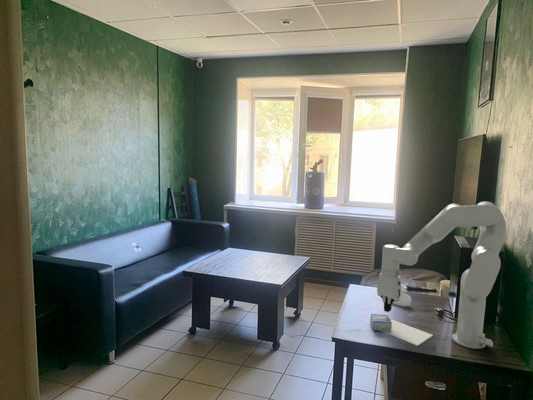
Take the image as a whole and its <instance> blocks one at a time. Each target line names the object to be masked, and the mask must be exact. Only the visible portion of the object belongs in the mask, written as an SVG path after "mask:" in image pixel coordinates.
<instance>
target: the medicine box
mask: <svg viewBox="0 0 533 400" xmlns="http://www.w3.org/2000/svg"><path fill="white" fill-rule="evenodd" d="M391 320H392V319H391V318H390V317H389V315H388V314H378V313H377V314H376V313H371V314H370V319H369V323H370V326H371V328H372V330H373V332H374V331H375V332H382V331H385V332H391V330H392V322H391Z"/></svg>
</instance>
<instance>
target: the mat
mask: <svg viewBox="0 0 533 400" xmlns="http://www.w3.org/2000/svg"><path fill="white" fill-rule="evenodd" d="M390 320H391V322H392V330H391V332H385V331H381V332H383V333H384V334H386V335H389V336H392V337H394V338H396V339H398V340H402V341H404V342H406V343H409V344H411V345H414V346H416V347H418V346H420V345H422V344H423V343H424V342H426V341H428V340H429V339H430V338H432V337H434V334H431V333H429V332H426V331H423V330H421V329H418V328H415V327H412V326H410V325H408V324H404V323H402V322H399V321H397V320H394V319H390Z"/></svg>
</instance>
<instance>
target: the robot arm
mask: <svg viewBox="0 0 533 400" xmlns="http://www.w3.org/2000/svg"><path fill="white" fill-rule="evenodd" d="M456 227H457V228H470V227H471V228H472V227H473V228H474V227H481V230H480V233H479V237H478V238H477V242H476V243H475V246H474V249H473V251H472V253H471V255H470V256H471V261H472V262H471V264H470V267H469V268H467V269H466V270H464V272H463V273H462V275H461V278H460V289H459V290H460V292H459V293H460V295H459V303H458V314H457V324H456V325H457V326H456V332H454V333H453V334H452V336H451V340H452V341H454V342H455V343H456V344H458V345H460V346H462V347H464V348H469V349H473V350H474V349H475V350H478V349H479V350H480V349H484V348H485V347H486V346H487V347H490V348H492V347H493V346H494V342H493V341H492V339H489V338H486V337H485V336H486V335H485V333H483V332H484V323H485V322H484V321H485V311H486V304H487V303H486V302H487V301H486V300H487V297H488V295H489V294H490V293H491V291H492V289H493V287H494V284H495V282H496V280H497V277H498V274H499V272H500V270H501V258H500V256H499V254H500V252H501V249H502V247H503V243H504V240H505V237H506V235H507V223H506V219H505V216H504V214H503V213H502V211H501V210H500V209H499V207H497V206H496V205H495V204H494V203H493V202H491V201H480V202H479V203H477V204H476V205H460V204H459V203H450V204H448V205H447V206H445V207H444V208H443V209H442V210H441V211H440V212H439V213H438V214H437V215H436V216H434V218H432V219H431V220H430V221H429V222H428V223H427V224H425V226H424V227H422V228H421V230H419V231H418V232H417V233H416V234H415V235H414V236H413V237H412V238H411V239H410V240H408V241H407V242H406V244H404V245H403V246H402V247H400V246H399V245H396V244H390V243H389V244H384V245H383V246H382V256H381V257H382V258H381V270H380V272H379V276H378V280H377V287H376V292H377V296H379V297H380V298H381V299H382V302H383V312H386V313H389V312H391V311H392V308H393V302H399V301H400V298H399V297H401V285H402V280H401V276H402V272H401V271H400V264H401V265H405V266H414V265H415V264H417V262H418V260H419V256H420V255H421V254H422V253H424V252H425V250H427V249H428V248H429V247H431V246H432V245H434V244H436V243H438V242H441V241H442V240H443V239H444V238H445V237H447V235H449V233H451V232H452V231H453V230H454V229H455V228H456Z"/></svg>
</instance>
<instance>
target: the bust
mask: <svg viewBox="0 0 533 400" xmlns="http://www.w3.org/2000/svg"><path fill="white" fill-rule="evenodd" d="M407 289H408V287H407V286H406V285H405V284H401V297H399V298H400V301H399V302H393V303H392V305H396V306H400V307H409V305H410V304H411V302H412V297H411V296H409V294H407V293H406V292H407Z"/></svg>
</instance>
